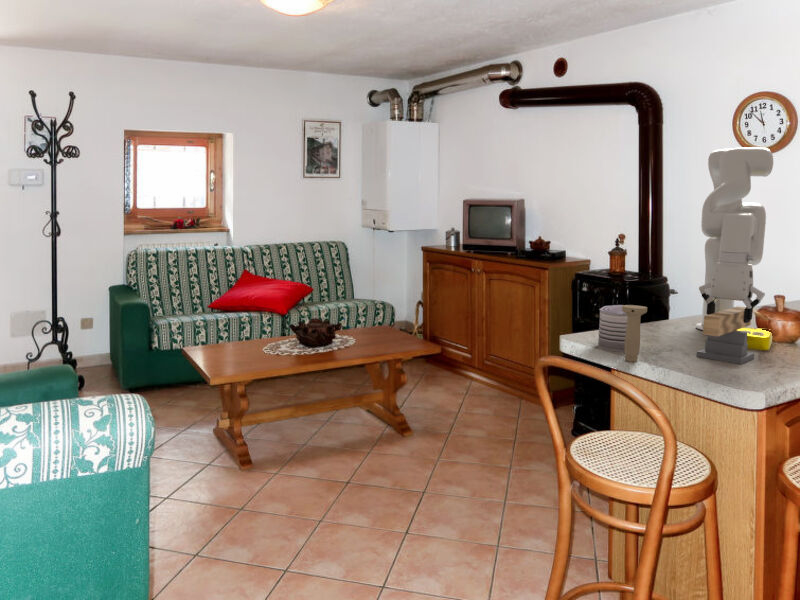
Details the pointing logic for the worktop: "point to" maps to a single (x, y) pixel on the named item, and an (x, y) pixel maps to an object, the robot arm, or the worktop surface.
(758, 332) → the element tile
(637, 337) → the handle
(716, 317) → the oak batten
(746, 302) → the robot arm
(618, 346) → the can
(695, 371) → the worktop surface
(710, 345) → the fulcrum stand
